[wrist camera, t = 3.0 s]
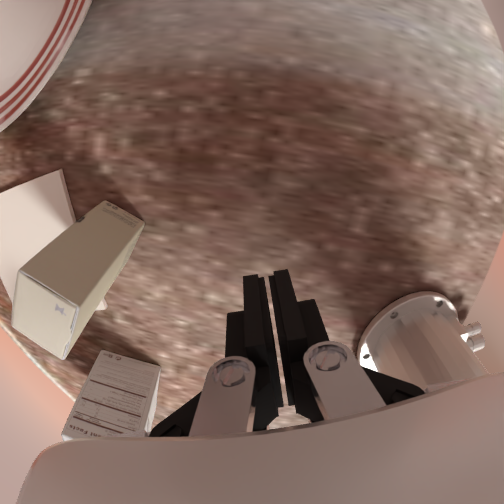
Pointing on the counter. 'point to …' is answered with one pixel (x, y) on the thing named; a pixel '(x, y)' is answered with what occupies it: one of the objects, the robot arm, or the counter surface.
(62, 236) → the box
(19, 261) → the beige flat slab
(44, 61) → the dinner plate
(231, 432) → the robot arm
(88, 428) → the supplement box
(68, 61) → the counter surface
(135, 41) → the counter surface
